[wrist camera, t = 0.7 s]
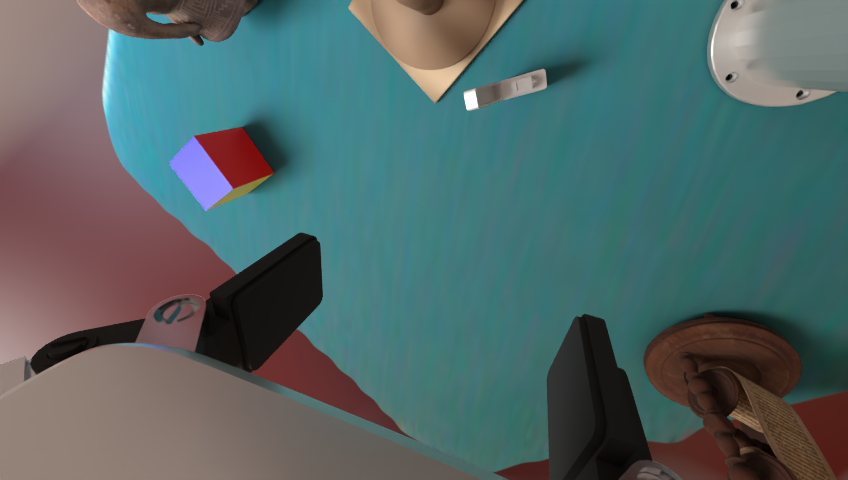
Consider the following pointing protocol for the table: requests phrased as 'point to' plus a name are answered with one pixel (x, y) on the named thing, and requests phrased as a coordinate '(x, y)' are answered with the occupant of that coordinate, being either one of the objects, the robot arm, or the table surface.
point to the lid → (432, 29)
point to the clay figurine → (170, 17)
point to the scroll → (739, 394)
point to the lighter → (505, 89)
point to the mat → (442, 79)
